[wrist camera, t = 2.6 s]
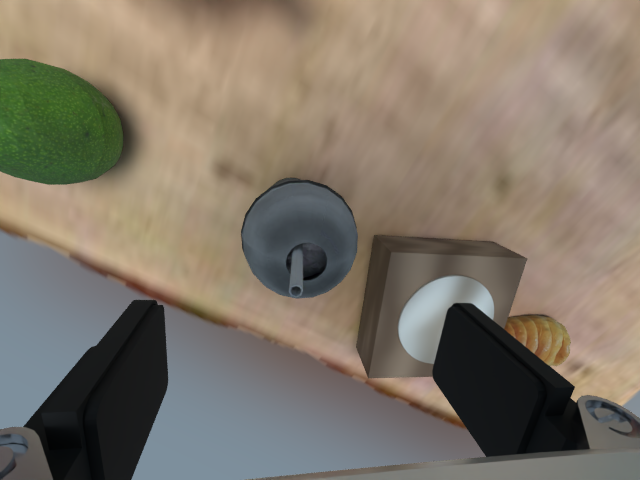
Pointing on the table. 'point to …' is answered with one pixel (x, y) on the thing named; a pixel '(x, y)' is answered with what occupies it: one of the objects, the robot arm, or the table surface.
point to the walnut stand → (428, 297)
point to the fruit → (54, 125)
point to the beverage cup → (299, 238)
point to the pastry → (541, 337)
